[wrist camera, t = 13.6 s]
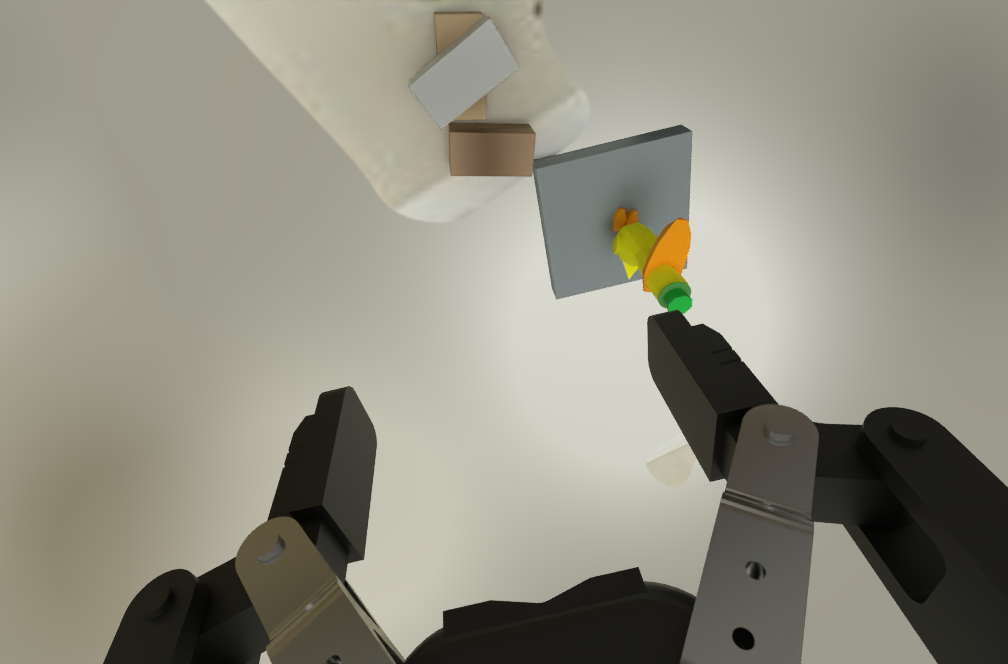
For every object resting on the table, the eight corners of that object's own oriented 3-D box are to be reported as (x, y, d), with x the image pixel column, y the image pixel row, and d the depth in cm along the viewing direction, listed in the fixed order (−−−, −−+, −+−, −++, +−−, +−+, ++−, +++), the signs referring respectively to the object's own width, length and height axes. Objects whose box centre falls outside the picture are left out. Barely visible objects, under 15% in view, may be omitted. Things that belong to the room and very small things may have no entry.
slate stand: (681, 124, 37) (692, 131, 36) (677, 257, 45) (686, 268, 43) (531, 161, 38) (536, 169, 36) (552, 287, 45) (556, 299, 43)
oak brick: (433, 12, 31) (434, 14, 29) (479, 11, 32) (483, 14, 29) (441, 110, 35) (442, 120, 32) (482, 109, 35) (486, 119, 33)
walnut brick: (528, 123, 36) (535, 134, 34) (525, 164, 38) (532, 176, 36) (448, 122, 35) (450, 132, 33) (449, 163, 37) (450, 175, 35)
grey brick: (485, 14, 29) (490, 18, 27) (512, 60, 31) (519, 67, 29) (409, 78, 31) (408, 87, 28) (439, 119, 32) (440, 130, 30)
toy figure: (616, 174, 37) (680, 241, 27) (658, 180, 38) (736, 247, 28) (593, 253, 41) (643, 336, 31) (632, 256, 42) (692, 339, 32)
